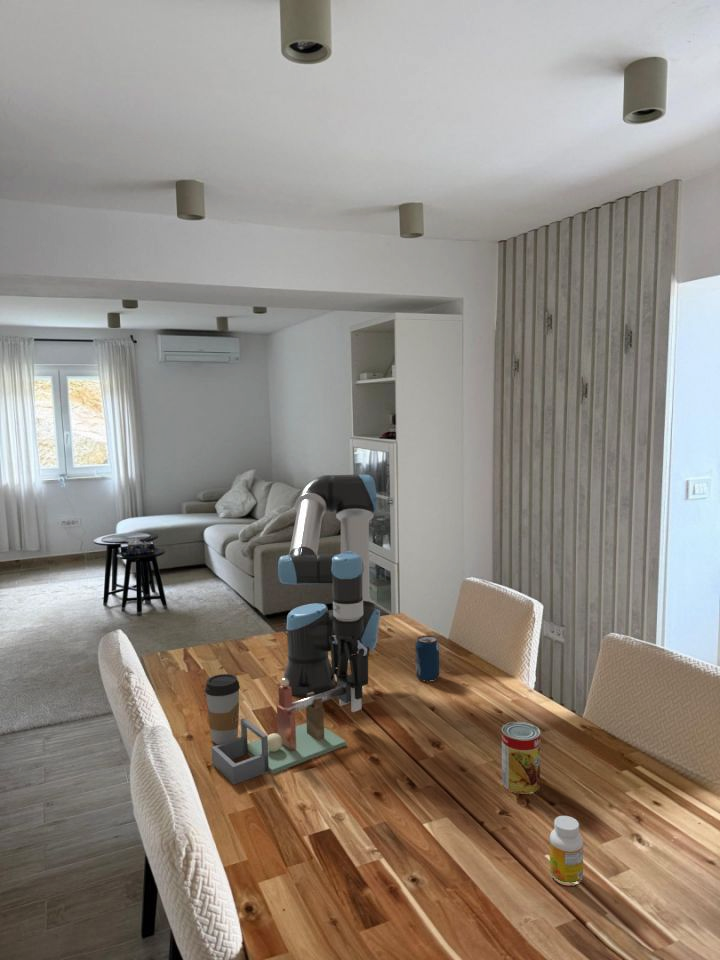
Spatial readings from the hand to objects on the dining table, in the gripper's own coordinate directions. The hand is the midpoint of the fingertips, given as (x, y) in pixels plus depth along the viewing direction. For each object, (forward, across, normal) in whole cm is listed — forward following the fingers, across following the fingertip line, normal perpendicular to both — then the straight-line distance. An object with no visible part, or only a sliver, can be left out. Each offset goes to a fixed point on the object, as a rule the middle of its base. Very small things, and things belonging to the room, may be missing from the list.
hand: (350, 706), depth 169 cm
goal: (+5, -1, -30) cm, 31 cm away
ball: (+2, -1, -22) cm, 22 cm away
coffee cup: (+5, -16, -27) cm, 32 cm away
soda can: (+5, -8, +36) cm, 37 cm away
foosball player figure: (+5, 0, -11) cm, 12 cm away
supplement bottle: (+5, +67, -7) cm, 67 cm away
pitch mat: (+5, -1, -17) cm, 17 cm away
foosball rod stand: (+4, 0, -9) cm, 9 cm away
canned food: (+5, +45, +10) cm, 46 cm away
